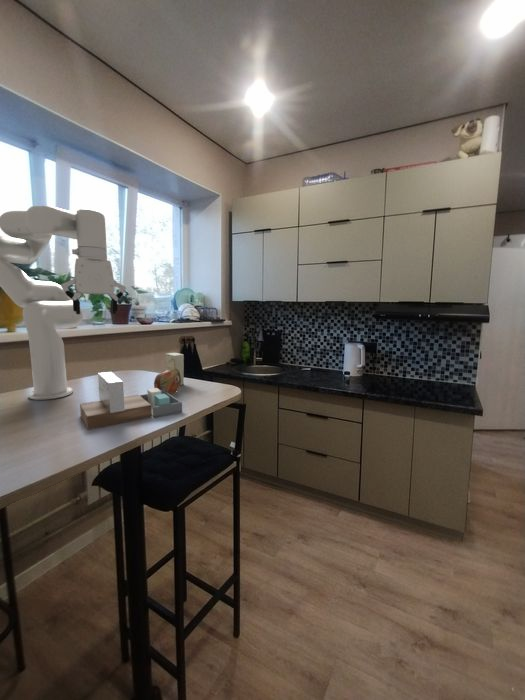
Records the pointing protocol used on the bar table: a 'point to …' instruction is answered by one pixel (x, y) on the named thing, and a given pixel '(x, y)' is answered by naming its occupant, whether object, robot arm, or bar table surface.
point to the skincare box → (176, 363)
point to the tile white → (152, 395)
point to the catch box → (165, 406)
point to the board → (100, 416)
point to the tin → (168, 381)
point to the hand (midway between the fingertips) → (96, 313)
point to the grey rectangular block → (111, 391)
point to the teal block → (161, 399)
